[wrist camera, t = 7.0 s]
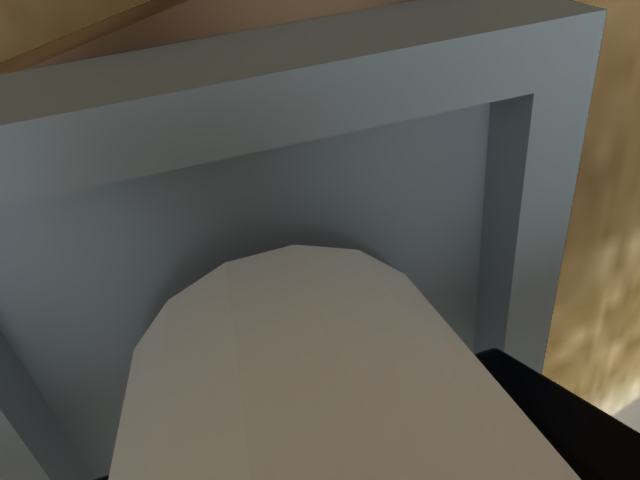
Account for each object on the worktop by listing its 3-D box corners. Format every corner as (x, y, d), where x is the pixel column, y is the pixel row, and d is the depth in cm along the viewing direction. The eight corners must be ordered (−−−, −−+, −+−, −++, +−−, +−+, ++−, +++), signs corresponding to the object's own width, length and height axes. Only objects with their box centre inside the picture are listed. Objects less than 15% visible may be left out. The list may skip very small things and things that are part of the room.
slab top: (504, -16, 10) (607, 9, 7) (474, 386, 16) (525, 465, 14) (-157, 101, 8) (-278, 179, 6) (98, 496, 14) (86, 606, 12)
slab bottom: (407, -112, 11) (465, -116, 9) (484, 298, 18) (527, 350, 16) (-151, 120, 10) (-228, 174, 8) (151, 444, 17) (150, 517, 15)
